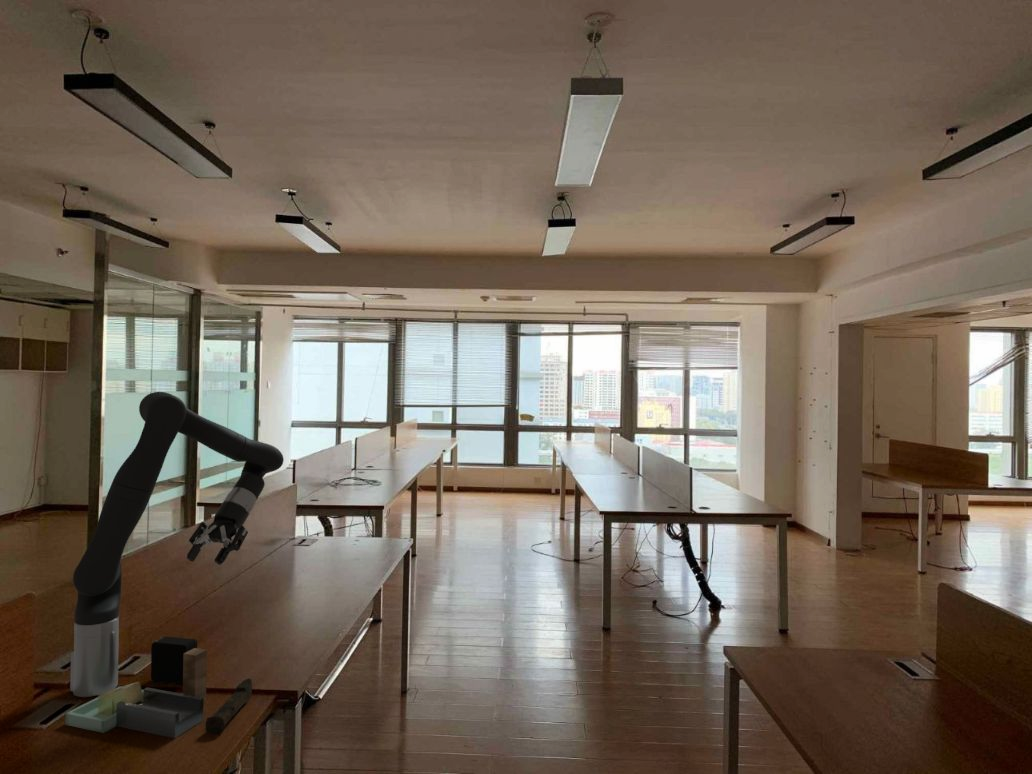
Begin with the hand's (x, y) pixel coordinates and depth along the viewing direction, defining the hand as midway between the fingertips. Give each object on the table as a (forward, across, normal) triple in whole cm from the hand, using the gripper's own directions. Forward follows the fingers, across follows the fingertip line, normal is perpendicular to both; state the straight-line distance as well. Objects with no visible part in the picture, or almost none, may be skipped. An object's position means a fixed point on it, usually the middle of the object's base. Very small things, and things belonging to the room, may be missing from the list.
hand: (203, 561), depth 163 cm
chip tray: (+35, -8, +8) cm, 37 cm away
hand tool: (+29, +17, +15) cm, 37 cm away
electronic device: (+22, -8, +21) cm, 32 cm away
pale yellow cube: (+33, -3, +7) cm, 34 cm away
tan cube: (+33, -6, +7) cm, 34 cm away
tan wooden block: (+28, +6, +16) cm, 32 cm away
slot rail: (+35, +6, +8) cm, 36 cm away
